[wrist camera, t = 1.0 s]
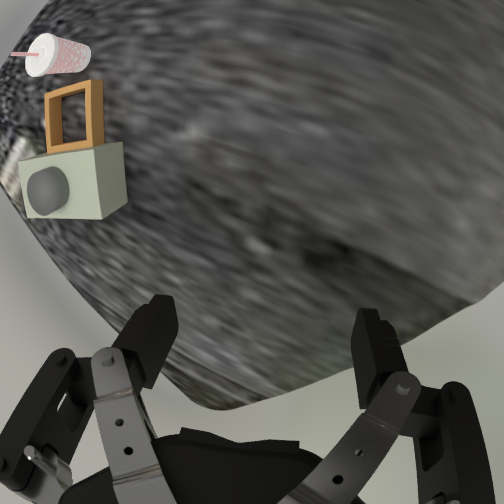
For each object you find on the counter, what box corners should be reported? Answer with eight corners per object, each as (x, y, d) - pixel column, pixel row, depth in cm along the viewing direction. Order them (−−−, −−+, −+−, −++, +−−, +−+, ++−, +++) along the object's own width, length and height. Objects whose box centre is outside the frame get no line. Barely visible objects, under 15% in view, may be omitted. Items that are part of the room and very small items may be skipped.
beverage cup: (100, 42, 29) (33, 30, 17) (86, 80, 32) (16, 81, 20) (74, 38, 29) (8, 29, 16) (60, 73, 31) (-7, 75, 19)
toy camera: (44, 97, 33) (0, 102, 24) (121, 76, 32) (76, 71, 23) (54, 203, 42) (14, 225, 33) (127, 202, 40) (89, 228, 31)
